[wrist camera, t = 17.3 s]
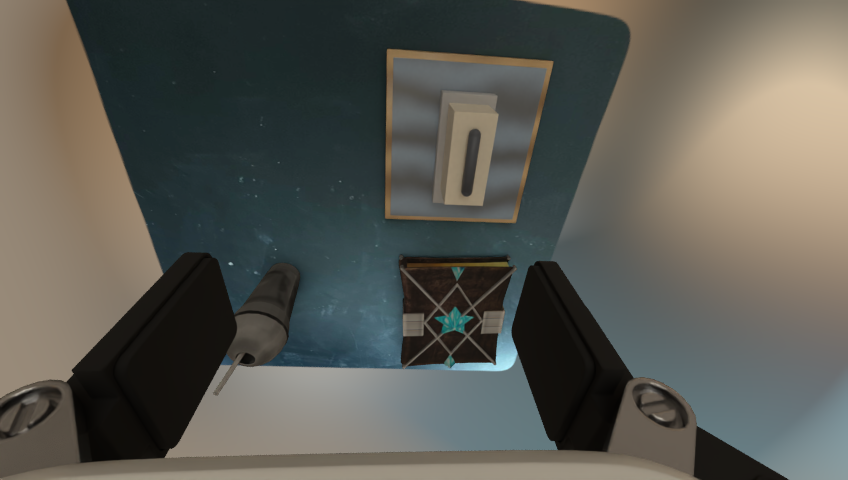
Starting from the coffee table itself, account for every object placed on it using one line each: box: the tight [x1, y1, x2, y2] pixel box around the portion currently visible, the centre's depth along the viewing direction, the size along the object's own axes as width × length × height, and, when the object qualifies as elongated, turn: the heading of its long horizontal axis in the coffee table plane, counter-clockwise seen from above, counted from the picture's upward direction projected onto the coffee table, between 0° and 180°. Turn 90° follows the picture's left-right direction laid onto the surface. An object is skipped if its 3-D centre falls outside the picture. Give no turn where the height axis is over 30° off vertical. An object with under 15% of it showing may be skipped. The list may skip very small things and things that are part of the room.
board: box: [385, 48, 553, 223], centre depth 42 cm, size 20×18×2 cm
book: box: [399, 254, 517, 369], centre depth 55 cm, size 22×17×5 cm
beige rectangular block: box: [432, 90, 499, 206], centre depth 39 cm, size 13×6×7 cm, turn 176°
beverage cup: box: [213, 263, 300, 395], centre depth 44 cm, size 7×7×20 cm
